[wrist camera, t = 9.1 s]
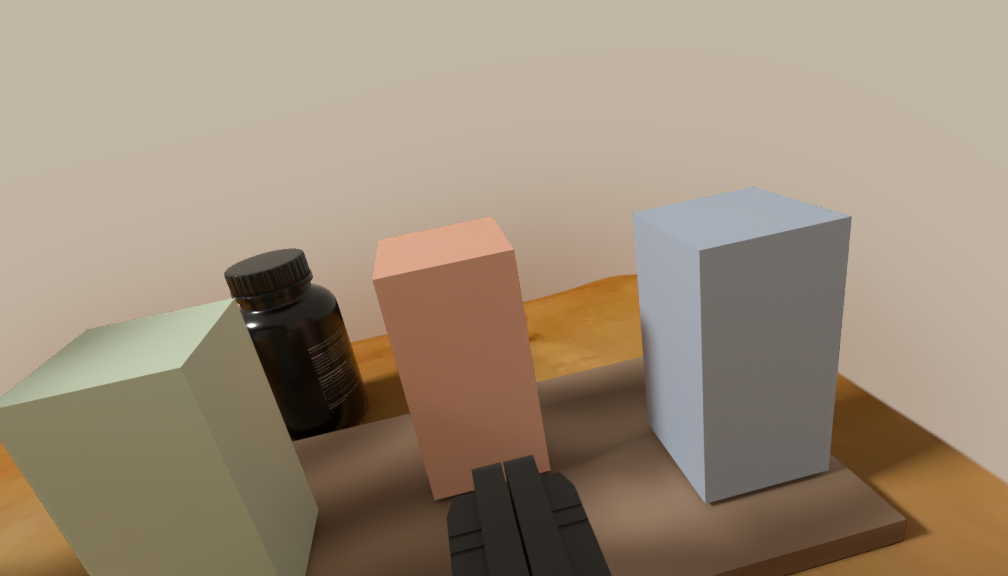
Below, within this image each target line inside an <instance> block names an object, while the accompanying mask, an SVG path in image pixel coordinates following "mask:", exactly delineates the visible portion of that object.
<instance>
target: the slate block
mask: <svg viewBox="0 0 1008 576" xmlns="http://www.w3.org/2000/svg"><path fill="white" fill-rule="evenodd" d="M633 221H634V235H635V249H636V262H637V276H638V290H639V304H640V317H641V331H642V345H643V358H644V372H645V386H646V400H647V413H648V424H649V426H650V427H651V428H652V430H653V431H654V433H655V434H656V435H657V437H658V438H659V440H660V441H661V442H662V444H663V445H664V447H665V448H666V449H667V451H668V452H669V454H670V455H671V456H672V458H673V459H674V461H675V462H676V463H677V465H678V466H679V468H680V469H681V470H682V472H683V473H684V475H685V476H686V477H687V479H688V480H689V482H690V483H691V484H692V486H693V487H694V489H695V490H696V491H697V493H698V494H699V496H700V497H701V498H702V500H703V501H704V503H705V504H706V503H710V502H714V501H717V500H721V499H725V498H728V497H732V496H736V495H739V494H743V493H747V492H750V491H754V490H757V489H761V488H765V487H768V486H772V485H776V484H779V483H783V482H787V481H790V480H794V479H798V478H801V477H805V476H808V475H812V474H816V473H819V472H823V471H827V470H829V460H830V449H831V438H832V427H833V416H834V405H835V394H836V383H837V372H838V361H839V350H840V338H841V328H842V316H843V306H844V295H845V284H846V273H847V262H848V251H849V240H850V229H851V216H849V215H845V214H842V213H839V212H835V211H832V210H829V209H825V208H822V207H818V206H815V205H812V204H808V203H805V202H802V201H799V200H795V199H792V198H788V197H785V196H782V195H779V194H775V193H772V192H768V191H765V190H762V189H759V188H755V187H751V188H746V189H742V190H737V191H732V192H727V193H723V194H718V195H713V196H708V197H704V198H699V199H694V200H690V201H685V202H680V203H675V204H671V205H666V206H661V207H657V208H652V209H648V210H643V211H638V212H633Z"/></svg>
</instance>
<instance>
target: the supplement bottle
mask: <svg viewBox="0 0 1008 576" xmlns="http://www.w3.org/2000/svg"><path fill="white" fill-rule="evenodd" d="M224 274H225V279H226V281H227V284H228V286H229V289H230V291H231V297H232V298H235V299H236V302H237V303H238V304H240V307H239V309H240V312H241V314H242V317H243V319H244V322H245V325H246V327H247V330H248V332H249V335H250V337H251V340H252V342H253V345H254V347H255V350H256V352H257V355H258V357H259V360H260V362H261V365H262V367H263V370H264V373H265V375H266V378H267V380H268V383H269V385H270V388H271V390H272V393H273V395H274V398H275V400H276V403H277V405H278V408H279V410H280V413H281V416H282V418H283V421H284V423H285V426H286V428H287V431H288V433H289V436H290V438H291V441H292V442H293V441H297V440H301V439H306V438H310V437H314V436H318V435H322V434H326V433H330V432H335V431H339V430H343V429H347V428H350V427H351V426H352V425H354V424H355V423H356V422H357V421H358V419H359V418H360V417H361V416H362V414H363V413H364V411H365V408H366V405H367V393H366V389H365V386H364V383H363V380H362V377H361V373H360V370H359V367H358V364H357V361H356V358H355V355H354V352H353V349H352V346H351V343H350V340H349V337H348V333H347V330H346V328H345V324H344V321H343V318H342V315H341V312H340V309H339V306H338V303H337V300H336V298H335V296H334V295H333V294H332V293H331V292H330V291H329V290H328V289H326V288H324V287H322V286H320V285H316V284H311V282H310V281H311V280H312V278H313V275H312V272H311V269H309V266H308V263H307V260H306V257H305V255H304V252H303V251H302V250H300V249H282V250H276V251H271V252H267V253H263V254H260V255H256V256H254V257H250V258H248V259H245V260H243V261H241V262H238V263H236V264H235V265H232V266H231V267H229V268H228V269H227V270H226V272H225V273H224Z"/></svg>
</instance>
